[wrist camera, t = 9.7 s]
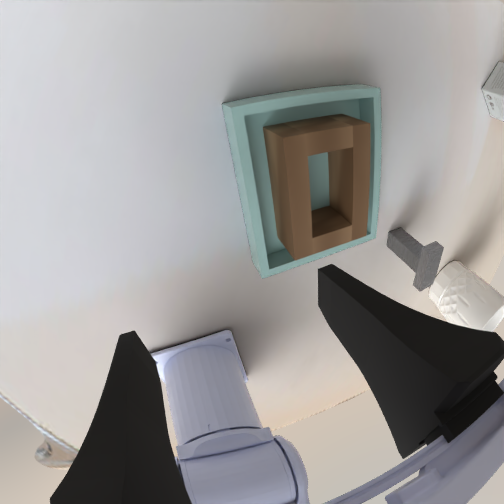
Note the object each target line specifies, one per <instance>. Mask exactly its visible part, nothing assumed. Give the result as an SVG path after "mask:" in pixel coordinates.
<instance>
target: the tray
mask: <svg viewBox="0 0 504 504" xmlns="http://www.w3.org/2000/svg"><path fill="white" fill-rule="evenodd" d="M222 108H223V113H224V118H225V123H226V128H227V133H228V139H229V144H230V149H231V154H232V159H233V164H234V169H235V174H236V179H237V184H238V189H239V195H240V200H241V205H242V210H243V215H244V220H245V225H246V230H247V235H248V240H249V245H250V250H251V255H252V260H253V263H254V265H255V267H256V268H257V270H258V272H259V274H260V276H261V278H262V279H263V278H266V277H269V276H272V275H275V274H278V273H280V272H283V271H286V270H289V269H292V268H295V267H298V266H300V265H303V264H306V263H309V262H312V261H314V260H317V259H320V258H323V257H326V256H328V255H331V254H334V253H337V252H339V251H342V250H345V249H348V248H350V247H353V246H356V245H358V244H361V243H364V242H367V241H369V240H372V239H375V238H376V231H377V220H378V208H379V193H380V173H381V94H380V88H378V87H373V86H368V85H363V84H354V85H340V86H329V87H319V88H310V89H302V90H294V91H287V92H280V93H274V94H268V95H262V96H257V97H251V98H246V99H241V100H236V101H232V102H227V103H222ZM335 114H345V115H348V116H351V117H354V118H357V119H360V120H363V121H365V122H368V123H370V188H369V208H368V223H367V235H366V236H364V237H362V238H359V239H356V240H353V241H350V242H348V243H345V244H342V245H339V246H336V247H333V248H330V249H328V250H325V251H322V252H319V253H316V254H313V255H310V256H307V257H304V258H302V259H299V260H296V261H295V260H294V259H293V257H292V256H291V255H290V253H289V252H288V251H287V249H286V248H285V247H284V245H283V244H282V243H281V241H280V240H279V239H278V237H277V230H276V222H275V214H274V206H273V199H272V191H271V183H270V176H269V169H268V161H267V154H266V147H265V140H264V133H263V127H265V126H270V125H275V124H280V123H285V122H291V121H296V120H302V119H308V118H314V117H321V116H328V115H335ZM308 167H309V182H310V198H311V211H312V210H316V209H319V208H323V207H326V206H330V203H329V169H328V152H326V153H321V154H316V155H311V156H308Z"/></svg>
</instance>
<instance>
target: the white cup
mask: <svg viewBox="0 0 504 504" xmlns="http://www.w3.org/2000/svg"><path fill="white" fill-rule="evenodd" d="M428 296H429V298H430V299H431V301H432V302H433V303H434V304H435V305H436V307H437V308H438V309H439V310H440V312H441V314H442V315H443V316H444V317H445V319H446V320H447V321H448V322H449V323H452V324H456V325H459V326H464V327H468V328H472V329H477V330H484V331H490V332H493V331H494V330H495V328H496V327H497V326H498V325H499V323H500V322H501V320H502V319H503V317H504V297H503V296H502V295H501V294H500V293H499V292H497V291H496V290H495V289H494V288H493V287H492V286H491V285H489V284H488V283H487V282H486V281H485V280H483V279H482V278H481V277H479V276H478V275H477V274H476V273H474V272H473V271H471V270H470V269H468V268H467V267H466V266H465V265H463V264H462V263H461V262H459V261H452V262H450V263H449V264H447V265H446V266H445V267H444V268H443V269H442V270H441V271H440V272H439V274H438V275H437V276H436V278H435V280H434V283H433V285H431V287H430V289H429V295H428Z"/></svg>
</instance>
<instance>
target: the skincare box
mask: <svg viewBox="0 0 504 504" xmlns="http://www.w3.org/2000/svg"><path fill="white" fill-rule="evenodd" d="M482 91H483V94H484V97H485V100H486V103H487V106H488V109H489V113H490V116H491V117H493V118H496V119H498V120H501V121H503V122H504V62H500V61H499V62H498V64H497V66H496V67H495V69H494V70H493V72H492V74H491V75H490V77H489V79H488V80H487V82H486V83H485V85H484V86H483V88H482Z"/></svg>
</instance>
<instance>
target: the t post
mask: <svg viewBox="0 0 504 504" xmlns="http://www.w3.org/2000/svg"><path fill="white" fill-rule="evenodd" d="M387 247H389V248H390V249H391V250H392V251H393V252H394V253H395V254H396V255H397V256H398V257H399V258H401V259H402V260H403V261H404V262H405V263H406V264H407V265H408V266H409V267H410V268H411V269H412V270H413V271H414V272H415V273H416V275H415V279H414V283H413V285H414V286H415V287H416V288H417V289H418V290H419V291H422V290H424V289H425V288H427V287H429V286H431V285H433V283H434V280H435V277H436V273H437V270H438V267H439V263H440V260H441V256H442V252H443V249H444V247H443V246H442V245H440V244H439V243H438V242H437V241H435V242H433V243H431V244H428V245H426V246H423V245H422V244H421V243H419V242H418V241H417V240H416V239H414V238H413V237H412V236H411V235H410V234H408V233H407V232H406V231H405V230H403V229H402V228H398V229H396V230H393V231H391V232H389V234H388V241H387Z"/></svg>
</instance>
